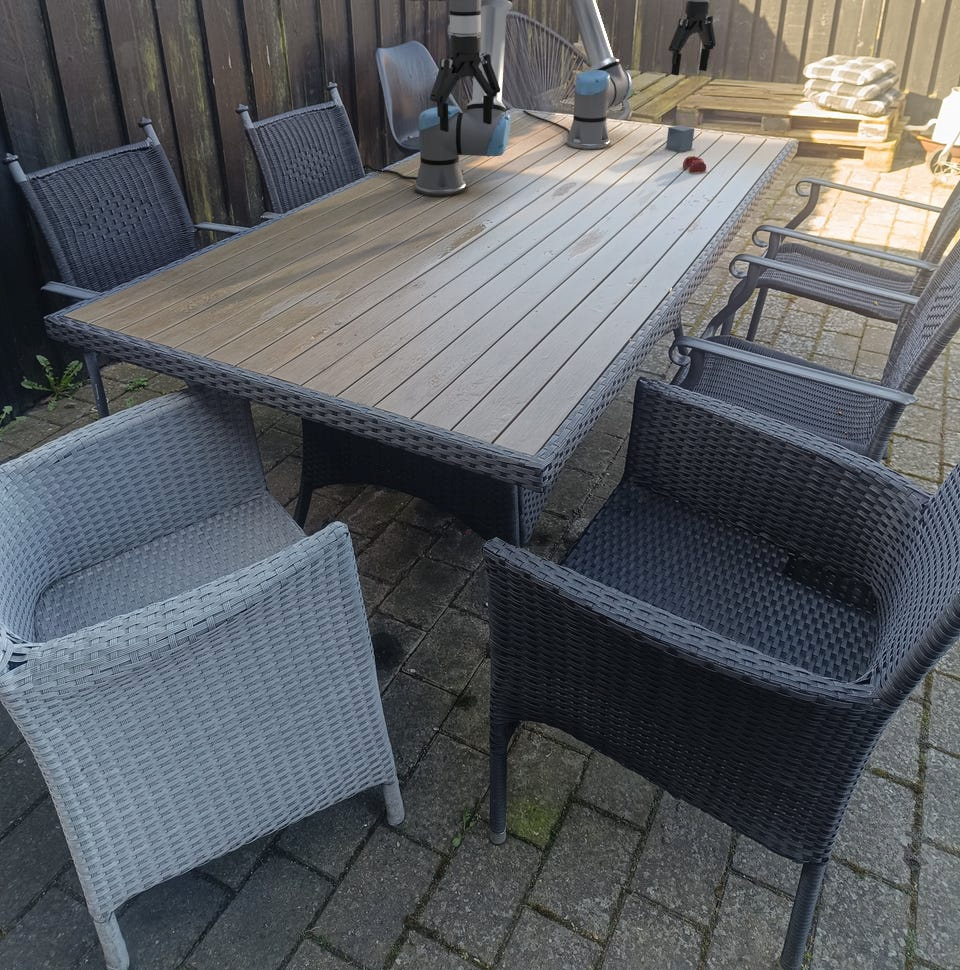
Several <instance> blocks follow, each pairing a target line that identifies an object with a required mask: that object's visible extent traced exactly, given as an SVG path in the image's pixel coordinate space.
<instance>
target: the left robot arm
mask: <svg viewBox="0 0 960 970" xmlns="http://www.w3.org/2000/svg"><path fill="white" fill-rule="evenodd" d="M408 1H410V2H449V32H450V34H451V35H450V36H449V50H450V53H451V54H450V55H451V56H450V59H448V58H443V57H442V58H440V59H439V69H438V72H437V74H436V78H435V81H434V83H433V87H432V90H431V93H430V96H429V100H430V101H431V102H435V103H436V106H435V107H431V108H428V109H425V110H423V111H422V112H421V113H420V114H419V117H418V118H419V119H418V120H419V121H418V136H419V138H418V139H419V157H420V158H419V159H420V161H419V162H420V164H419V168H418V172H417V176H409V175H404V174H402V173H400V172H398V171H396V170H390V169H382V168H376V167H373V165H371V164H369V163H365V164H364V165H363V166H362V169H366V168H369V169H370V170H371V171H374V172H377V173H384V174H385V173H386V174H392V175H395V176H398V177H399V178H401V179H405V180H411V181H415V183H414V184H415V185H414V186H415V192H417V193H418V194H420V195H424V196H430V197H450V196H455V195H459V194H461V193H463V192H464V191H466V181H465V179H464V176H463V174H464V169H461V165H460V156H471V157H472V156H475V157H487V158H489V157H501V156H502V155H504V154H505V152H506V149H507V147H508V143H509V138H510V132H511V123H512V117H511V115H510V114H509V113H507V107H506V105H505V104H504V103H503V101H502V98H503V83H504V81H503V80H504V66H505V65H504V64H505V49H506V47H505V46H506V32H507V30H506V29H507V14H508V12H509V11H510V10H511V9H512V8H513V3H514V2H513V1H516V0H408ZM467 77H473V79H472V96H471V97H472V98H471V100H470V102H468V103H467V104H466V111H465V112H460V110H459V107H458V106H455V105H449V103H447V100H448V98H449V97H450V95H451V94H452V91H453V90H454V87H455V86H456V85H457V82H458V81H459V80H460V79H461V78H467ZM382 170H383V171H382Z"/></svg>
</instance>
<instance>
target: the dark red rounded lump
mask: <svg viewBox="0 0 960 970" xmlns="http://www.w3.org/2000/svg"><path fill="white" fill-rule="evenodd" d="M688 168H689V169H688ZM682 169H688V171H689V173H702V172H706V171H707V164H706V162H705V160H704V159H702V158H701V157H698V156H695V155H689V156H687V157H686V158H684V160H683V162H682Z"/></svg>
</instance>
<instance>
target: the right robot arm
mask: <svg viewBox="0 0 960 970" xmlns="http://www.w3.org/2000/svg"><path fill="white" fill-rule="evenodd" d="M567 1H568V4H569V7H570V10H571V12H572V13H571V14H572V16H573V19H574V21H575V22H574V23H575V25H576V28H577V31H578V34H579V37H580V40H581V43H582V46H583V49H584V52H585V56H586V58H587V61H588V64H589V68H590V69H589V70H586V71H582V72H580V73H579V74H578V75H577V76H576V78H575V85H574V100H573V101H574V102H573V119H572V124H571V127H570V128H567V127H565V126H564V125H561V124H560V123H557V122H554V121H551V120H549V119H545V118H542V117H541V116H537V115H535V114H532V113H531V112H529V111H527V110H525V109H522V112H523V113H525V114H526V115H528V116H530V117H532V118H535V119H537V120H541V121H543V122H546V123H549V124H552V125H555V126H557V127H559V128H561V129H563V130H565V131H567V132H568V134H567V137H566V145H567V146H569V147H571V148H574V149H579V150H601V149H605V148H607V147H609V146H610V143H611V142H610V141H611V139H610V134H609V129H608V125H607V117H608V116H607V115H608V109H609V108H612V107H617V106H619V105H620V104H622V103H624V102H625V101H626V100H627V99H628V98H629V96H630V94H631V92H632V86H633V83H632V78H631V75H630V74H629V72H628V71H627V70H625V69H624V68H622V65H621V62H620V59H618V58H616V57H615V56H614V55H613V51H612V48H611V45H610V42H609V39H608V36H607V33H606V30H605V29H606V28H605V27H604V24H603V21H602V17H601V14H600V11H599V8H598V5H597V2H596V0H567ZM710 7H711V1H710V0H686V2H685V10H684V12H685V14H686V18H682V17H681V18H679V19H678V22H677V27H676V30H675V32H674V35H673V37H672V39H671V42H670V45H669V47H668V52H670V53H672V58H671V64H672V65H671V74H670V75H673V76H676V77H677V76H679V75H680V69H681V60H682V53H681V52H682V50H683V48H684V46H685V45H686V43H687V42H688V39H690V36H692V35H693V34H696V33H697V34H698V36H699V39H700V41H701V44H702V46H703V48H701V52H700V60H699V66H698V67H699V68H698V70H699V71H703V72H707V70H708V64H709V63H708V62H709V60H710V54H711V50H714V47H715V46H716V43H717V41H716V37H715V30H714V24H713V22H714V16H713V15H709V14H710Z"/></svg>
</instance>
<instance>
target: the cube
mask: <svg viewBox="0 0 960 970" xmlns="http://www.w3.org/2000/svg"><path fill="white" fill-rule="evenodd" d="M666 136H667V137H666V146H665V149H667V150H670V151H673V152H678V153H683V152H687V151H691V150H692V149H693V143H694V136H695V128H694V127H690V126H686V125H682V124H678V125H673V126H669V127H668V128H667V135H666Z"/></svg>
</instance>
